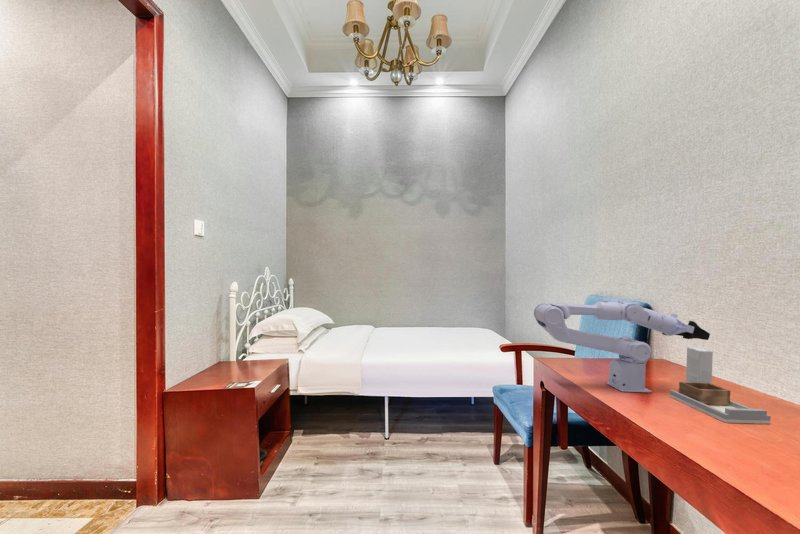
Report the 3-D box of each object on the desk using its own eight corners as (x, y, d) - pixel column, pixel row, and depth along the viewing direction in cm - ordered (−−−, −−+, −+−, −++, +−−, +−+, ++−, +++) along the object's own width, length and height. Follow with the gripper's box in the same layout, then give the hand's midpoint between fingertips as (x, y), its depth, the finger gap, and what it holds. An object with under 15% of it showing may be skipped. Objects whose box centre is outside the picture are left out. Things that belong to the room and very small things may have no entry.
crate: (698, 404, 101) (699, 389, 101) (678, 395, 108) (679, 381, 108) (729, 405, 102) (730, 390, 102) (707, 396, 109) (708, 382, 109)
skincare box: (712, 388, 120) (713, 351, 120) (698, 387, 120) (700, 351, 120) (697, 382, 126) (698, 347, 126) (684, 381, 126) (686, 346, 126)
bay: (725, 422, 92) (725, 409, 92) (670, 396, 110) (670, 386, 110) (770, 423, 92) (770, 411, 92) (707, 398, 110) (708, 387, 110)
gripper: (676, 310, 109) (721, 325, 109) (645, 308, 124) (684, 321, 123) (670, 333, 109) (714, 348, 108) (639, 328, 123) (678, 341, 123)
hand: (698, 335), depth 116 cm, fingers open, 7 cm apart
